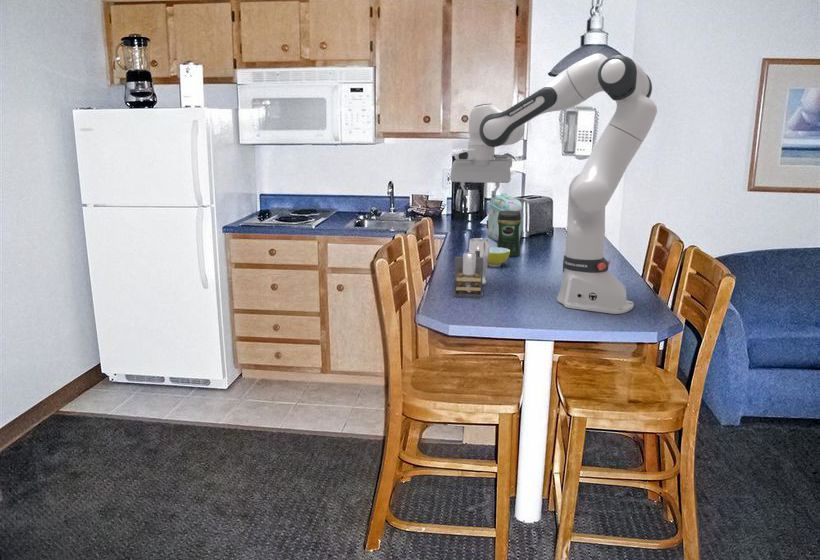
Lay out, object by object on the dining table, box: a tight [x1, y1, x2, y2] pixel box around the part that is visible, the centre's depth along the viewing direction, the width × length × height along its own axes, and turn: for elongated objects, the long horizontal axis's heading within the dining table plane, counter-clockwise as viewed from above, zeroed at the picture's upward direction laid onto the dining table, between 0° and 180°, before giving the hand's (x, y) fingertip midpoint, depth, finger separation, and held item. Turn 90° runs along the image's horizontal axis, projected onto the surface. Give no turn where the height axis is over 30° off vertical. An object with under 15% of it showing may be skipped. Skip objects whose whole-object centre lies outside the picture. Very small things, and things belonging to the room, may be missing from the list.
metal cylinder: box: [462, 252, 476, 292], centre depth 206 cm, size 4×4×12 cm
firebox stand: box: [453, 256, 484, 299], centre depth 206 cm, size 9×9×11 cm
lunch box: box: [486, 192, 523, 242], centre depth 300 cm, size 27×10×21 cm, turn 10°
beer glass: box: [468, 237, 490, 286], centre depth 220 cm, size 7×7×15 cm
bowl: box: [488, 246, 510, 268], centre depth 248 cm, size 11×12×6 cm
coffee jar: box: [496, 211, 521, 258], centre depth 266 cm, size 10×8×19 cm
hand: (479, 196), depth 219 cm, fingers open, 8 cm apart
